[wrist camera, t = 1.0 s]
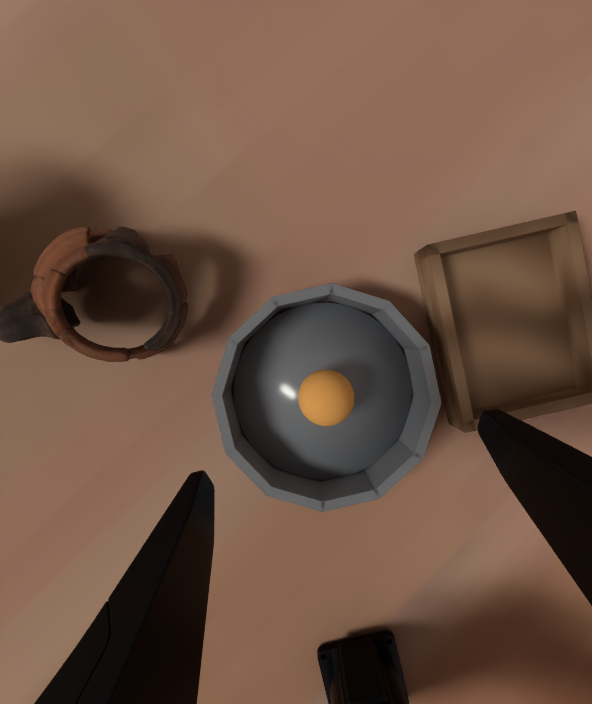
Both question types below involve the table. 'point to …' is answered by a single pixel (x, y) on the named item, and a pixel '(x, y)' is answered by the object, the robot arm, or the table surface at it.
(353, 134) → the table surface
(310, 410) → the ball
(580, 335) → the tray
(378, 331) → the bowl
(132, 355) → the broken clay ring
